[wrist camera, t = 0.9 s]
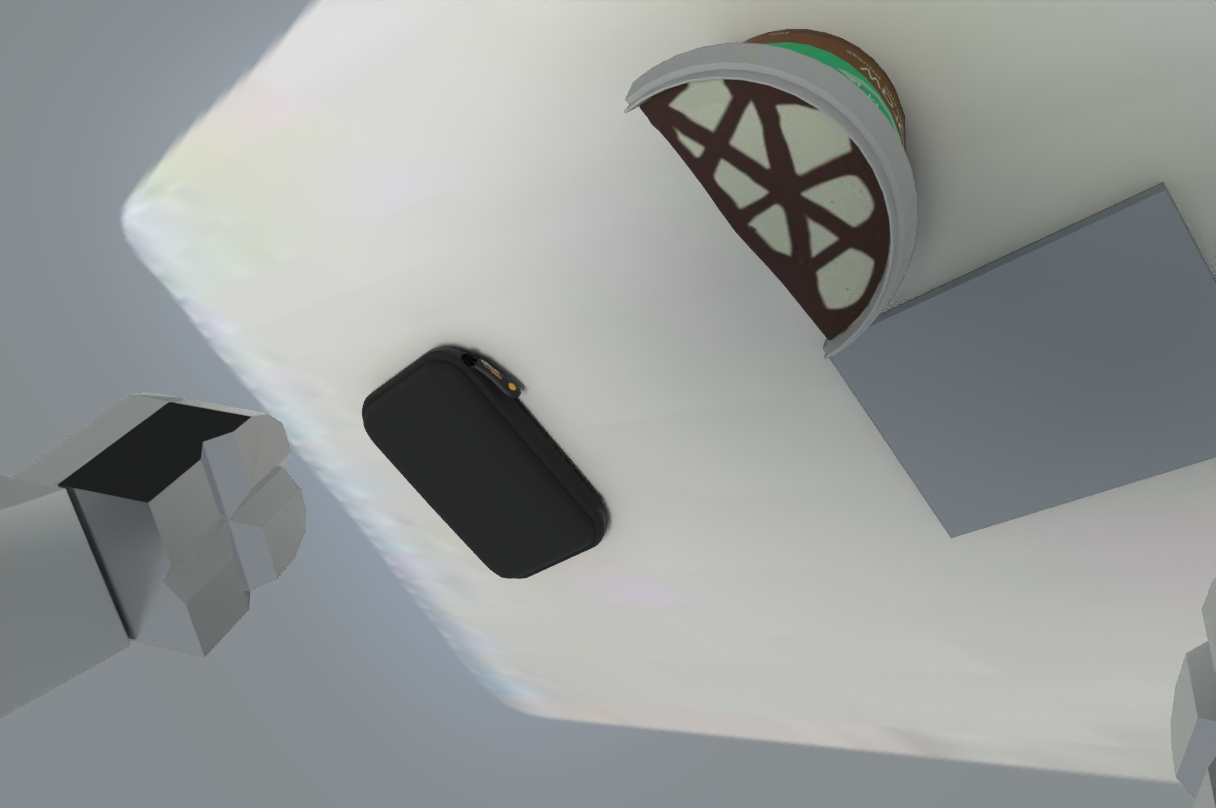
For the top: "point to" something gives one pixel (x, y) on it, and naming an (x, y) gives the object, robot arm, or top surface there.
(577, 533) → the carrying case or bag
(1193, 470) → the top surface
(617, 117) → the top surface
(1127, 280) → the slate mat
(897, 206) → the food container
